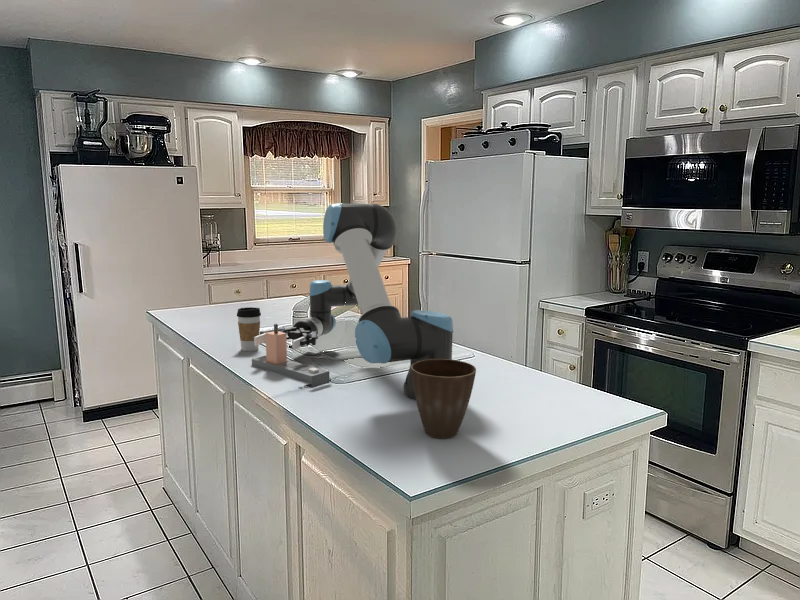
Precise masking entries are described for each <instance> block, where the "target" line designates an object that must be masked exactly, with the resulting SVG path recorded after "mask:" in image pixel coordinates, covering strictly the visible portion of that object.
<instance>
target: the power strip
mask: <svg viewBox="0 0 800 600" xmlns="http://www.w3.org/2000/svg"><path fill="white" fill-rule="evenodd" d="M251 366H253V367H256V368H259V369H264V370H267V371H269V372H274V373H277V374H280V375H283V376H286V377H289V378H293V379H296V380H300V381H304V382H307V384H304V385H303V386H305V387H307V388H311V389H313V388H315V387H320V386H323V385H326V383H327V384H329V383H330V371H329V370H327V369H323V368H320V367H315V366H311V365H308V364H305V363H300V362H296V361H293V360H290V359H287V362H285V363H281V364H277V365H276V364H273V363H269V362H266V355H263V356H258V357H255V358H251Z"/></svg>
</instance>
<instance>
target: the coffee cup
mask: <svg viewBox="0 0 800 600" xmlns="http://www.w3.org/2000/svg"><path fill="white" fill-rule="evenodd" d="M261 313H262V312H261V309H260V307H252V306H251V307H249V306H247V307H241V308H238V309H237V313H236V317H237V320H238V321H237V325H238V333H239V341H240V347H241V349H240V350H241V351H244V352H254V351H258V350H259V345H257V346H255V345H254V337H256V336H258V335H260V332H261V330H260V327H261V319H260V318H261V316H262V315H261Z"/></svg>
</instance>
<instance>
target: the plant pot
mask: <svg viewBox="0 0 800 600" xmlns="http://www.w3.org/2000/svg"><path fill="white" fill-rule="evenodd" d="M411 369H412V378H413V386H414V392H415V397H416V399H415V401H416V407H417V409H418V413H419V417H420V420H421V424H422V426H423V429H424V432H425V434H426V435H427V436H428V437H430V438H434V439H440V440H441V439H443V440H445V439H452V438H454V437H456V436H457V434H458V432H459V430H460V428H461V425H462V423H463V420H464V417H465V415H466V413H467V409H468V406H469V404H470V399H471V396H472V392H473V388H474V384H475V378H476V373H477V368H476V367H475V365H473V364H471V363H470V362H465V361H462V360H456V359H452V360H450V359H429V360H422V361H418V362H416V363H414V364H412V366H411Z"/></svg>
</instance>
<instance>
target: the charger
mask: <svg viewBox="0 0 800 600" xmlns="http://www.w3.org/2000/svg"><path fill="white" fill-rule="evenodd" d="M273 329H274V331H273V332H268V333H266V343H265V349H266V350H265V354H266V355H265V356H266V362H269V363H273V364H276V365H277V364H281V363H285V362H287V360H288V354H287V353H288V352H287V351H288V349H287V348H288V347H287V339H286V333H283V332H279V331H278V329H279V324H278V323H274V324H273Z"/></svg>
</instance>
